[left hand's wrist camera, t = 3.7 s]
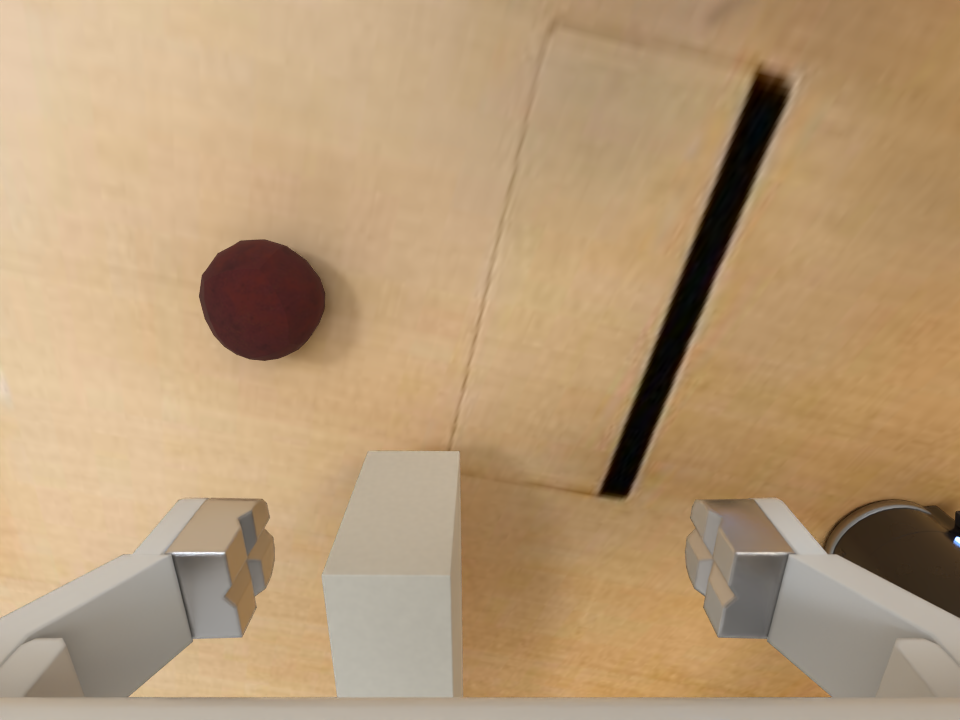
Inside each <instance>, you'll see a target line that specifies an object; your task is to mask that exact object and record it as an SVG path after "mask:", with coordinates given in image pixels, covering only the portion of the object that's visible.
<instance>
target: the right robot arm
mask: <svg viewBox="0 0 960 720" xmlns="http://www.w3.org/2000/svg"><path fill="white" fill-rule="evenodd" d="M825 551H826V553H827V554H837V555H839V556H841V557H843V558H845V559H846V560H848V561H850V562H852V563H854V564H856V565H858V566H860V567H862V568H864V569H866V570H868V571H870V572H872V573H873V574H875V575H877V576H879V577H881V578H883V579H885V580H887V581H889V582H891V583H893V584H895V585H897V586H899V587H900V588H902V589H904V590H906V591H908V592H910V593H912V594H914V595H916V596H918V597H920V598H922V599H924V600H926V601H927V602H929V603H931V604H933V605H935V606H937V607H939V608H941V609H943V610H945V611H947V612H949V613H951V614H953V615H954V616H956V617H958V618H960V511H956V513H955V520H954V519H952V518H951V517H950V516H949V515H947V514H946V513H945V512H944V511H942V510H941V509H940V508H939V507H937V506H929V507H922V506H920V505H919V504H916V503H913V502H910V501H905V500H886V501H880V502H876V503H872V504H869V505H867V506H864V507H862V508H860V509H858V510H856V511H854V512H853V513H851V514H850V515H848V516H847V517H846V518H845V519H843V520H842V521H841V522H840V523H839V524H838V525H837V526H836V527H835V529H834V530H833V531H832V533H831V534H830V536H829V538H828V540H827V543H826V545H825Z"/></svg>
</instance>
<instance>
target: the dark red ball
mask: <svg viewBox="0 0 960 720" xmlns="http://www.w3.org/2000/svg"><path fill="white" fill-rule="evenodd" d="M199 298H200V302H201V306H202V310H203V313H204V317H205V320H206V322H207V324H208V326H209V327H210V329H211V331H212V333H213V335H214V336H215V337H216V338H217V339H218V340H219V341H220V343H221V344H222V345H223V346H224V347H226V348H227V349H229V350H230V351H232V352H233V353H235V354H237V355H239V356H242V357H245V358H248V359H251V360H262V361H266V360H273V359H279V358H281V357H284V356H286V355H288V354H290V353H292V352H294V351H296V350H298V349H299V348H300V347H301V346H302V345H303V344H304V343H305V342H306V341H307V340H308V339H309V338H310V336H311V335H312V334H313V332H314V331H315V329H316V327H317V326H318V324H319V322H320V320H321V317H322V314H323V312H324V307H325V292H324V289H323V286H322V283H321V280H320V278H319V276H318V275H317V274H316V272H315V271H314V270H313V268H312V267H311V266H310V265H309V263H308V262H307V261H306V260H305V259H304V258H302V257H301V256H299V255H298V254H297V253H295V252H294V251H292V250H291V249H290V248H288V247H287V246H284V245H281V244H278V243H275V242H271V241H268V240H244V241H239V242H238V243H236V244H234V245H233V246H231V247H229V248H227V249H225V250H223V251H221V252H220V253H218V254H217V255H216V257H215V258H214V260H213V261H212V262H211V264H210V265H209V267H208V268H207V269H206V271H205V272H204V273H203V275H202V279H201V286H200V294H199Z"/></svg>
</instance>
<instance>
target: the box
mask: <svg viewBox="0 0 960 720" xmlns="http://www.w3.org/2000/svg"><path fill="white" fill-rule="evenodd" d="M322 582H323V590H324V598H325V605H326V613H327V621H328V629H329V637H330V644H331V652H332V660H333V668H334V675H335V683H336V691H337V697H463V643H462V567H461V490H460V451H368V452H367V455H366V458H365V460H364V463H363V466H362V469H361V471H360V474H359V477H358V479H357V482H356V485H355V487H354V490H353V493H352V495H351V498H350V501H349V503H348V506H347V509H346V511H345V514H344V517H343V519H342V522H341V525H340V527H339V530H338V533H337V536H336V538H335V541H334V544H333V546H332V549H331V552H330V554H329V557H328V560H327V562H326V565H325V568H324V570H323V573H322Z"/></svg>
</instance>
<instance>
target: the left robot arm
mask: <svg viewBox="0 0 960 720" xmlns="http://www.w3.org/2000/svg"><path fill="white" fill-rule="evenodd" d="M269 519H270V516H269V511H268V506H267V503H266V502H265V501H264V500H263V499H241V498H183V499H181V500H178V501H177V502H176V504H175V505H174V506H173V507H172V508H171V509H170V511H169V512H168V513H167V514H166V515H165V516H164V518H163V519H162V520H161V521H160V522H159V523H158V525H157V526H156V527H155V528H154V529H153V530H152V532H151V533H150V534H149V535H148V536H147V537H146V539H145V540H144V541H143V542H142V543H141V544H140V546H139V547H138V548H137V549H136V550H135V551H134V553H133V554H123V555H121V556H119V557H117V558H115V559H114V560H112V561H110V562H108V563H106V564H104V565H102V566H100V567H98V568H96V569H94V570H92V571H90V572H88V573H86V574H85V575H83V576H81V577H79V578H77V579H75V580H73V581H71V582H69V583H67V584H65V585H63V586H61V587H59V588H57V589H56V590H54V591H52V592H50V593H48V594H46V595H44V596H42V597H40V598H38V599H36V600H34V601H32V602H30V603H28V604H26V605H25V606H23V607H21V608H19V609H17V610H15V611H13V612H11V613H9V614H7V615H5V616H3V617H1V618H0V720H960V618H958V617H956V616H954V615H953V614H951V613H949V612H947V611H945V610H943V609H941V608H939V607H937V606H935V605H933V604H931V603H929V602H927V601H926V600H924V599H922V598H920V597H918V596H916V595H914V594H912V593H910V592H908V591H906V590H904V589H902V588H900V587H899V586H897V585H895V584H893V583H891V582H889V581H887V580H885V579H883V578H881V577H879V576H877V575H875V574H873V573H872V572H870V571H868V570H866V569H864V568H862V567H860V566H858V565H856V564H854V563H852V562H850V561H848V560H846V559H845V558H843V557H841V556H839V555H837V554H827V553H826V551H825V550H824V549H823V548H822V547H821V546H820V544H819V543H818V542H817V541H816V540H815V539H814V537H813V536H812V535H811V534H810V533H809V532H808V530H807V529H806V528H805V527H804V526H803V525H802V523H801V522H800V521H799V520H798V519H797V518H796V516H795V515H794V514H793V513H792V512H791V511H790V509H789V508H788V507H787V506H786V505H785V504H784V502H783V501H782V500H780V499H778V498H776V497H773V498H749V499H702V500H695V502H694V504H693V506H692V510H691V515H690V519H691V520H692V522H693V524H694V526H695V528H696V529H695V530H694V531H693V532H692V533H691V534H690V535H689V536H688V537H687V540H686V548H685V558H686V568H687V571H688V575H689V578H690V580H691V583H692V585H693V587H694V589H696V590H697V591H698V592H700V593H701V594H703V595H704V596H705V601H704V607H703V608H704V610H705V612H706V614H707V616H708V618H709V620H710V622H711V624H712V626H713V628H714V630H715V632H716V634H717V636H718V637H720V638H756V639H767V642H769V643H770V644H771V645H772V646H773V647H774V648H776V649H777V650H778V651H779V652H780V653H781V654H783V655H784V656H785V657H786V658H787V659H788V660H790V661H791V662H792V663H793V664H794V665H795V666H797V667H798V668H799V669H800V670H801V671H802V672H804V673H805V674H806V675H807V676H808V677H809V678H811V679H812V680H813V681H814V682H815V683H816V684H818V685H819V686H820V687H821V688H822V689H823V690H825V691H826V692H827V693H828V694H829V695H830V696H832V697H129V696H130V695H131V694H132V693H133V692H134V691H136V690H137V689H138V688H139V687H140V686H141V685H143V684H144V683H145V682H146V681H147V680H148V679H150V678H151V677H152V676H153V675H154V674H155V673H157V672H158V671H159V670H160V669H161V668H162V667H164V666H165V665H166V664H167V663H168V662H169V661H171V660H172V659H173V658H174V657H175V656H176V655H178V654H179V653H180V652H181V651H182V650H184V649H185V648H186V647H187V646H188V645H189V644H191V643H192V642H193V639H204V638H238V637H242V636H243V634H244V632H245V630H246V628H247V626H248V624H249V622H250V620H251V618H252V616H253V614H254V612H255V610H256V608H257V607H256V601H255V596H256V595H257V594H259V593H260V592H262V591H263V590H264V589H266V587H267V585H268V582H269V580H270V578H271V575H272V571H273V566H274V561H275V546H274V539H273V537H272V536H271V535H270V534H269V533H268V532H267V531H266V530H265V529H264V528H265V526H266V524H267V522H268V520H269Z"/></svg>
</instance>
